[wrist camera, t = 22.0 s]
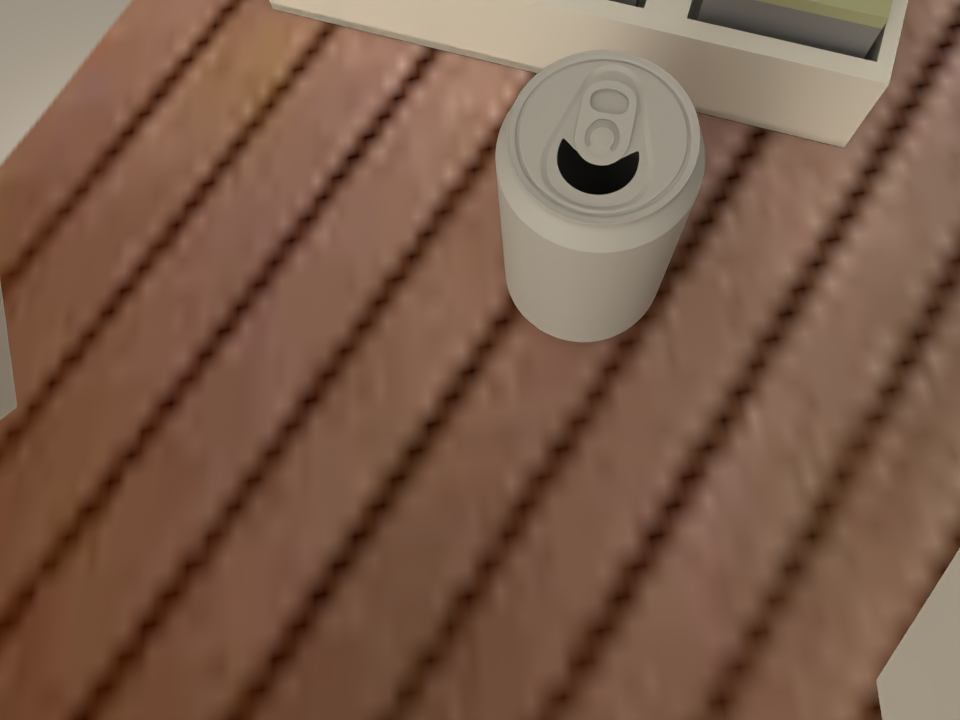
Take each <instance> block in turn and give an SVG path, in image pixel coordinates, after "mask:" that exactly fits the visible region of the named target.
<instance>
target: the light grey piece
mask: <svg viewBox="0 0 960 720" xmlns="http://www.w3.org/2000/svg"><path fill="white" fill-rule="evenodd" d="M269 1H270V3H271V5H272V8H273V9H275V10H279V11H283V12H287V13H291V14H296V15H300V16H304V17H308V18H312V19H316V20H320V21H324V22H328V23H333V24H337V25H341V26H345V27H349V28H353V29H357V30H361V31H365V32H370V33H374V34H378V35H382V36H386V37H390V38H394V39H398V40H402V41H407V42H411V43H415V44H419V45H423V46H427V47H431V48H435V49H439V50H444V51H448V52H452V53H456V54H460V55H464V56H468V57H472V58H476V59H481V60H485V61H489V62H493V63H497V64H501V65H505V66H509V67H513V68H518V69H522V70H526V71H530V72H534V73H539V72H540V71H541V70H542V69H544V68H545V67H547V66H548V65H550V64H552V63H554V62H556V61H558V60H560V59H562V58H564V57H567V56H570V55H573V54H577V53H581V52H586V51H595V50H611V51H621V52H626V53H630V54H634V55H637V56H640V57H642V58H645V59H647V60H649V61H651V62H653V63H655V64H656V65H658V66H660V67H661V68H663V69H664V70H665V71H667V72H668V73H669V74H670V75H672V76H673V77H674V78H675V79H676V80H677V81H678V82H679V84H680V85H681V86H682V87H683V88H684V90H685V91H686V93H687V94H688V96H689V97H690V99H691V101H692V103H693V105H694V108H695V110H696V112H698V113H703V114H707V115H711V116H715V117H719V118H723V119H727V120H731V121H735V122H740V123H744V124H748V125H752V126H756V127H760V128H764V129H768V130H772V131H777V132H781V133H785V134H789V135H793V136H797V137H801V138H805V139H809V140H814V141H818V142H822V143H826V144H830V145H834V146H838V147H842V148H844V147H845V146H846V144H847V143H848V142H849V140H850V139H851V137H852V136H853V134H854V133H855V132H856V130H857V129H858V127H859V126H860V125H861V123H862V122H863V120H864V119H865V117H866V116H867V115H868V113H869V112H870V110H871V109H872V108H873V106H874V105H875V103H876V102H877V101H878V99H879V98H880V96H881V95H882V93H883V92H884V91H885V89H886V88H887V86H888V85H889V82H890V78H891V74H892V69H893V65H894V61H895V56H896V52H897V47H898V43H899V39H900V34H901V30H902V26H903V21H904V17H905V13H906V8H907V4H908V0H893V2H892V6H891V10H890V15H889V19H888V20H887V22H886V24H885V25H884V27H883V28H882V30H881V32H880V33H879V35H878V36H877V38H876V40H875V41H874V43H873V44H872V46H871V48H870V49H869V51H868V52H867V54H866V56H865V57H864V59H862V58H857V57H853V56H849V55H844V54H840V53H836V52H831V51H827V50H823V49H818V48H814V47H809V46H805V45H801V44H796V43H792V42H788V41H783V40H779V39H775V38H770V37H766V36H762V35H757V34H753V33H749V32H744V31H740V30H736V29H731V28H727V27H722V26H718V25H714V24H709V23H705V22H701V21H697V19H698V16H699V12H700V9H701V5H702V2H703V0H639V4H638V7H635V6H631V5H627V4H622V3H618V2H614V1H609V0H269Z"/></svg>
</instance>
